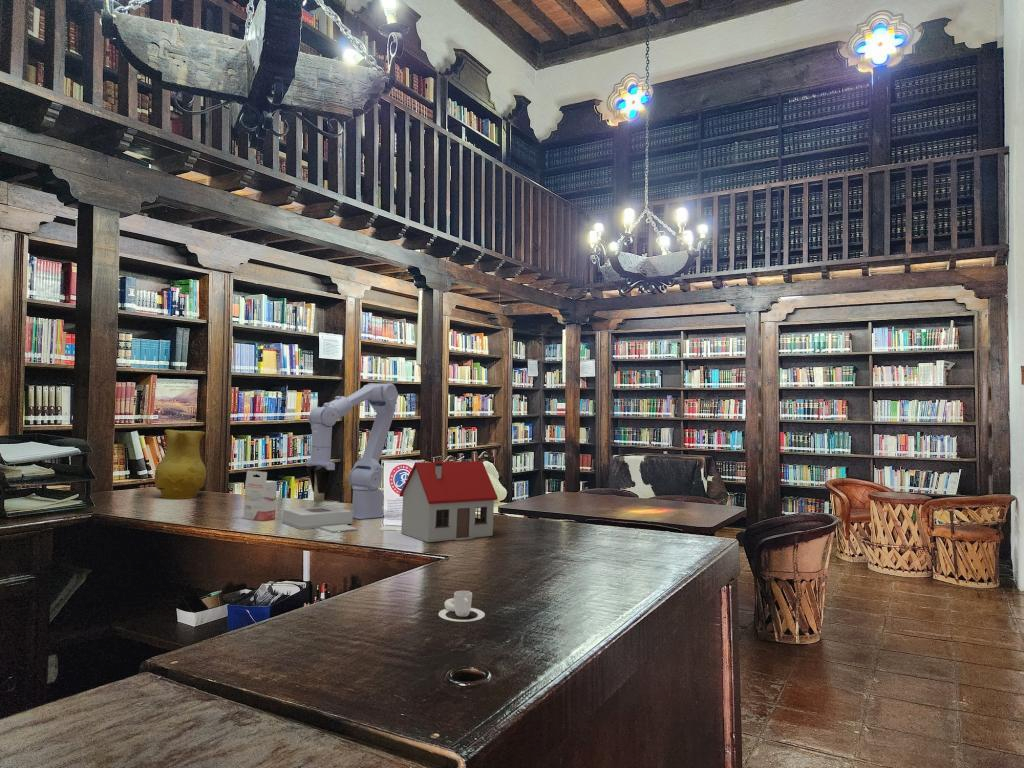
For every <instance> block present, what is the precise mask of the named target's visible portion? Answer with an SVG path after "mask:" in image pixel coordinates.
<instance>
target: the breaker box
mask: <svg viewBox="0 0 1024 768" xmlns="http://www.w3.org/2000/svg"><path fill="white" fill-rule="evenodd" d="M281 523H282V524H285V525H288V526H290V527H293V528H296V529H299V530H310V529H312V528H313V529H319V528H320V527H323V526H333V525H344V524H345V525H348V524H352V525H353V511H352V510H349V509H346V508H343V507H342V508H341V507H338V506H334V505H327V506H312V507H300V508H296V507H295V508H285V509H283V508H282V522H281ZM348 526H349V525H348Z"/></svg>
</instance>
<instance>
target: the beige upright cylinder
mask: <svg viewBox="0 0 1024 768" xmlns="http://www.w3.org/2000/svg"><path fill="white" fill-rule="evenodd" d="M315 469H320V468H317V467H316V468H315ZM323 502H325V493H318V489H317V478H316V474H315V484H314V492H313V503H323Z"/></svg>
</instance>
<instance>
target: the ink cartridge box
mask: <svg viewBox="0 0 1024 768" xmlns="http://www.w3.org/2000/svg"><path fill="white" fill-rule="evenodd" d="M256 475H257V476H259V477H256ZM245 476H246V478H245V484H244V486H245V487H244V503H243V504H244V505H243V519H244V520H250V521H251V520H252V521H253V520H254V521H259V522H260V521H261V522H265V521H272V520H275V519H276V510H277V509H276V508H277V507H276V506H277V490H278V489H277V487H278V484H277V483H278V481H277V480H276V481H274V480H267V477H268V472H267V471H257V470H256V471H255V470H247V471H246V475H245Z"/></svg>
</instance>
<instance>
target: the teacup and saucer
mask: <svg viewBox="0 0 1024 768" xmlns="http://www.w3.org/2000/svg"><path fill="white" fill-rule="evenodd" d="M472 600H473V592H471V591H470V590H457V591H456V590H455V592H454V593H453V597H452V598H448V599H446V600H445V601H444V603H443V604H444V605H443V606H444V608H443V609H441V610H439V612H438V617H440V618H441V619H442V620H446V621H451V622H458V623H461V622H462V623H463V622H464V623H468V622H476V621H479V620H482V619H483V618H485V616H486V614H485V612H484V611H482V610H481V609H479V608H474V607H472V602H473V601H472ZM449 612H452V613H453V612H455V616H457V617H461V618H463V617H468V616H469V615H470V613H471V612H474V613H475V614H477V616H476V617H474V618H470V619H454V618H451V617H448V616H447V615H446V614H447V613H449Z"/></svg>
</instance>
